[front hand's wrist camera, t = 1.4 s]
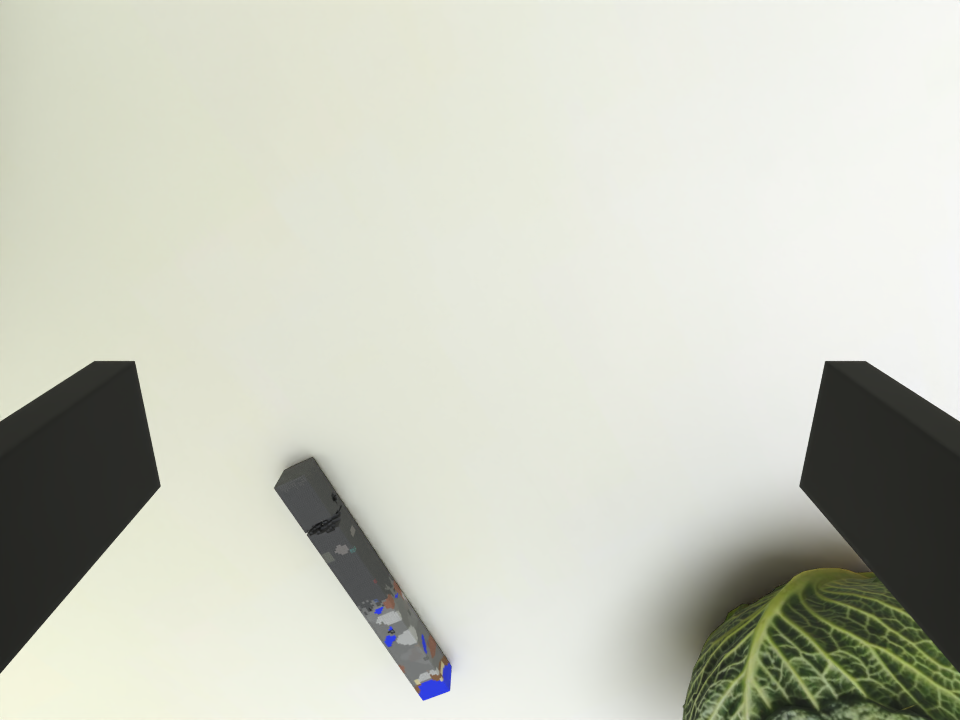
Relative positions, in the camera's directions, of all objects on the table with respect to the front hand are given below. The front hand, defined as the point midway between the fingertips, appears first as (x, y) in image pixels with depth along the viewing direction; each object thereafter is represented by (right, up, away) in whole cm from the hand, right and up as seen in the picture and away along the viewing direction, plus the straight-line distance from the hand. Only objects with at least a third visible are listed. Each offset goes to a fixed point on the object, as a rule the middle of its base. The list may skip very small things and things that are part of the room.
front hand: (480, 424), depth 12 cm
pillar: (-7, -14, +33) cm, 36 cm away
